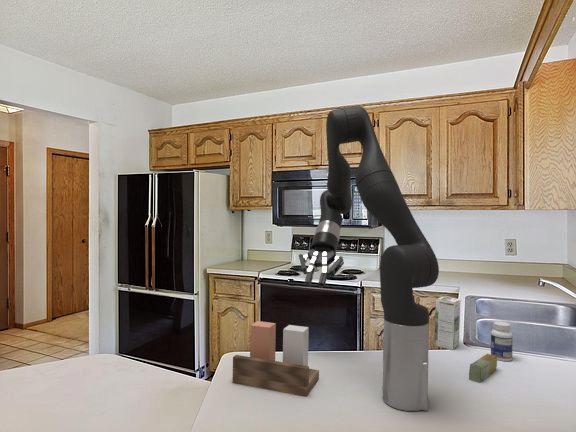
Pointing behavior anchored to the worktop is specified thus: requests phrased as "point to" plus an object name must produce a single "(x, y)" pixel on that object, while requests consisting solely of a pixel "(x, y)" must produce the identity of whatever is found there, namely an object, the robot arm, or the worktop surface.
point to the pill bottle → (502, 341)
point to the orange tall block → (263, 340)
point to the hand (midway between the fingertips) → (314, 285)
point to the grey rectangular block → (295, 345)
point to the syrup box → (447, 322)
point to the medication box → (482, 368)
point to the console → (274, 375)
